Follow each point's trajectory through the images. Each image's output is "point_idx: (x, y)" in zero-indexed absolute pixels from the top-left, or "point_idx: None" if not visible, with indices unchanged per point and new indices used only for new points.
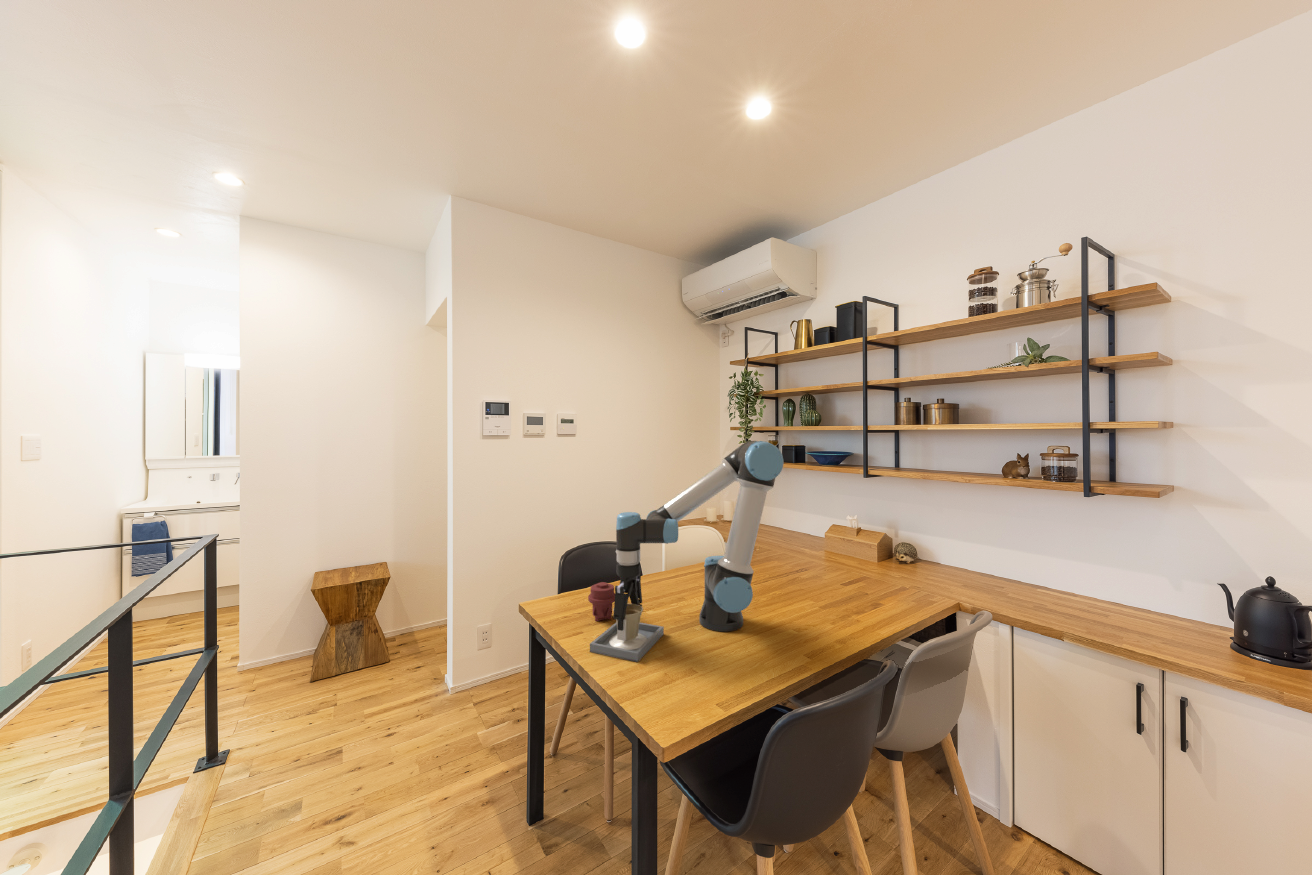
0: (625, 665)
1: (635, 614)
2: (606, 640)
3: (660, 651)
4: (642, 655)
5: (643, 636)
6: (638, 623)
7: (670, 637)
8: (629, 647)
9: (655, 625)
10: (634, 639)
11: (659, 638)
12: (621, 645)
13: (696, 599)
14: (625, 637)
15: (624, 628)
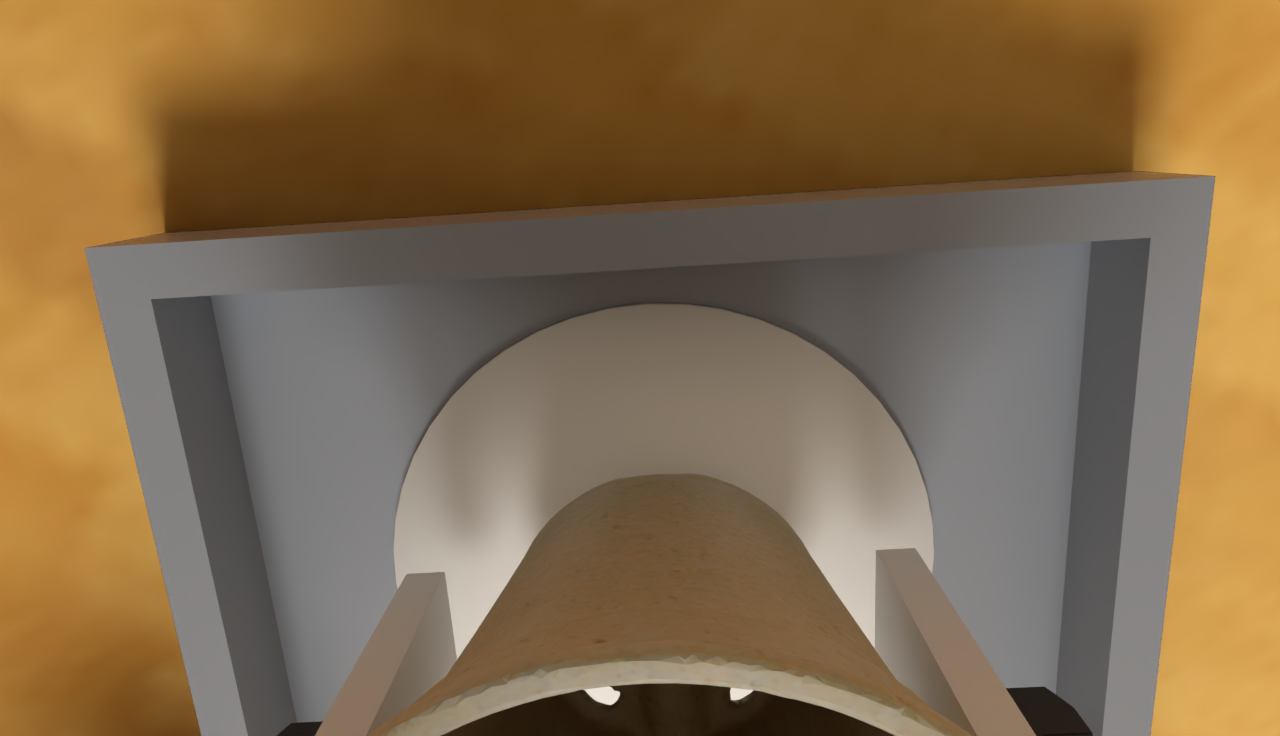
0: (1265, 280)
1: (931, 711)
2: None
3: (694, 11)
4: (972, 183)
5: (443, 443)
6: (659, 551)
7: (194, 81)
8: (845, 456)
9: (129, 396)
10: None
11: (326, 223)
12: (836, 576)
13: None
14: (919, 573)
15: (988, 683)
